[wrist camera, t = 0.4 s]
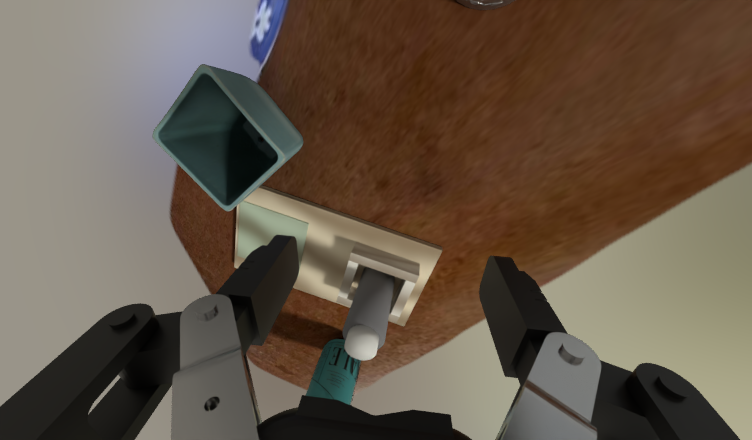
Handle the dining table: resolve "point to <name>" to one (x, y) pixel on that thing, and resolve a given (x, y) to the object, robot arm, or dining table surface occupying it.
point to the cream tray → (335, 248)
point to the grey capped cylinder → (368, 314)
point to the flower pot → (227, 134)
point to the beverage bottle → (334, 373)
